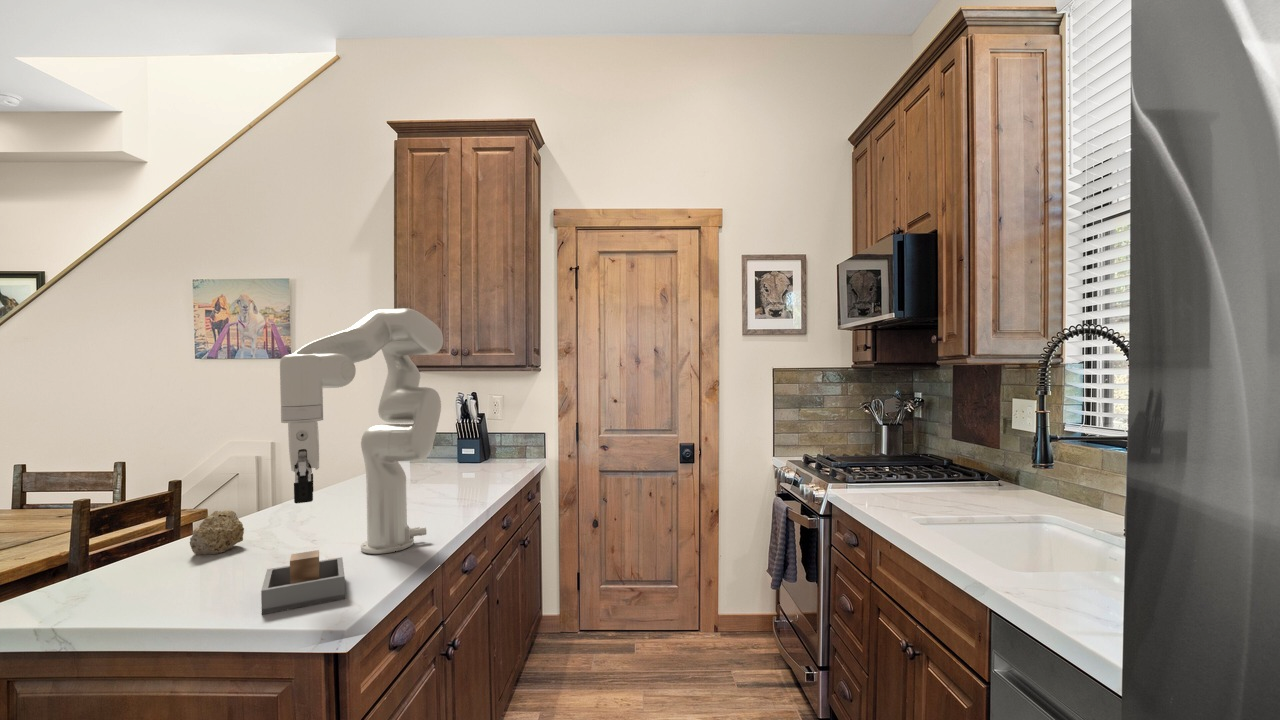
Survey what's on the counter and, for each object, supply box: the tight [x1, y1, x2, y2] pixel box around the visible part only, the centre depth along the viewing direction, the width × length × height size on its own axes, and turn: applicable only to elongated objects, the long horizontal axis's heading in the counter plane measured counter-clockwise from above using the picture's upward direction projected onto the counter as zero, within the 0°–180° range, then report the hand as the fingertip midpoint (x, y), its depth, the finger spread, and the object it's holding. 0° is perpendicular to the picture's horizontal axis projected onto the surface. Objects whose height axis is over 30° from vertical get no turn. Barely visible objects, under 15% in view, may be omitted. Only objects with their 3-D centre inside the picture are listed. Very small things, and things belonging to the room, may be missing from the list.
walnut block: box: [289, 549, 320, 584], centre depth 119 cm, size 5×5×7 cm
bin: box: [260, 556, 346, 616], centre depth 119 cm, size 14×14×4 cm
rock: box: [189, 510, 245, 556], centre depth 150 cm, size 11×12×10 cm
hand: (304, 497), depth 119 cm, fingers open, 9 cm apart
